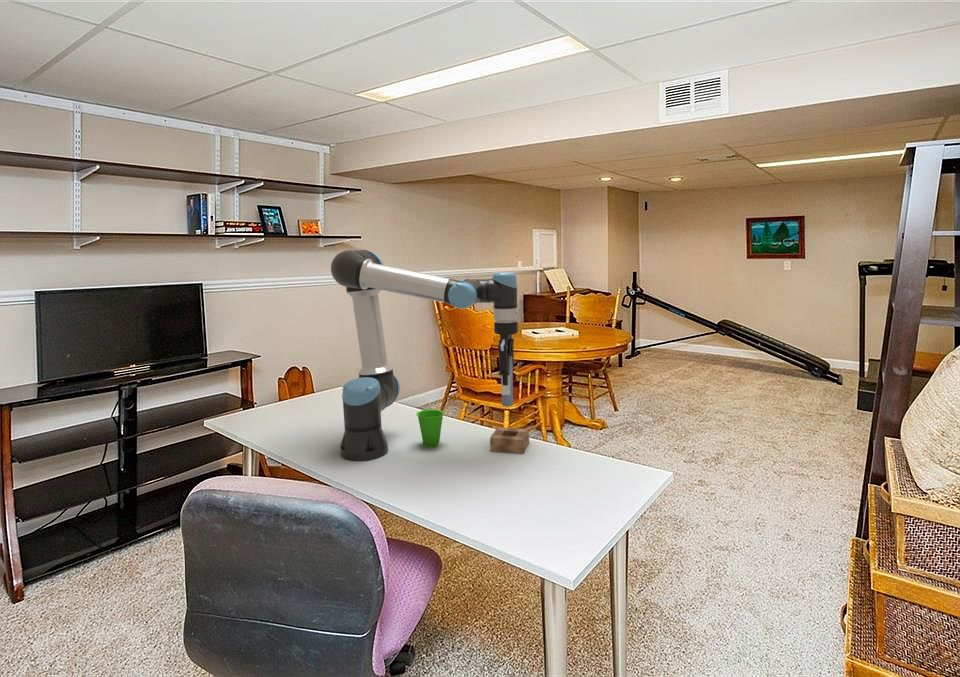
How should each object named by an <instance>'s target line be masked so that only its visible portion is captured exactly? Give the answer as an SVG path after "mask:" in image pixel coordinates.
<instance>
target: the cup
mask: <svg viewBox="0 0 960 677" xmlns="http://www.w3.org/2000/svg"><path fill="white" fill-rule="evenodd" d="M444 415H445V413H444V411H443V410H440V409H435V408H434V409H423V410H420V411H418V412H417V413H416V416H417V418H418V423H419V429H420V433H421V439H422V443H423V446H424V447H425V448H436V447H438V446H439V445H438V444H440V441H441V440H440V439H441V434H442V433H441V432H442V425H443V417H444Z"/></svg>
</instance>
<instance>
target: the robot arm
mask: <svg viewBox="0 0 960 677" xmlns="http://www.w3.org/2000/svg"><path fill="white" fill-rule="evenodd" d="M330 264H331V265H330V273H331V276H332V278H333V279H334V281H335V282H336V283H337V284H338V285H341V286H342V287H345V289H346V290H345V291H346V294H347V295H348V296H350V297H351V298H352V306H353V312H354V313H353V314H354V320H355V327H356V334H357V341H358V348H359V353H360V361H361V368H360V370H359V371H358V377H357V378H354V379H350V380H348V381H347V382H345V384H344V385H343V387H342V394H341V398H342V408H343V410H342V411H343V424H344V426H343V427H344V432H343V435H342V439H341V443H340V447H339V454H340V457H342V458H343V459H344V460H349V461H369V460H374V459H378V458H381V457H384V456H385V455H386V454H387V453H388V451H389V443H388V441H387V439H386V435H385V434H384V430H383V428H382V411H383V410H385V409H386V408H388V407H390V406H391V405H393V403H395V401H396V400H397V399H398V397H399V395H400V392H401V384H400V381H399V380H398V378H397V376H396V375H395V374H394V370H393V366H392V365H390V364H389V363H388V358H387V356H388V355H387V351H386V343H385V335H384V329H383V323H382V322H383V321H382V315H381V307H380V300H379V293H380V292H381V291H385V292H388V293H389V292H390V293H395V294H399V295H405V296H409V297H414V298H420V299H424V300H429V301H434V302H439V303H443V304H447V305H451V306H453V307H454V308H457V309H467V308H471V307H472V306H473V305H475V304H481V303H482V304H483V303H484V304H487V303H489V304H491V303H493V320H494V321H495V322H494V323H493V332H494V334H495V335H499V336H500V339H499V340H498V345H497V347H498V363H499V364H498V366H499V373H498V376H500V378H501V379H500V380H501V381H500V382H501V383H500V385H501V396H502V395H510V375H509V356H512V370H513V372H515V371H516V369H515V366H514V363H515V362H514V361H515V360H514V358H515V357H514V342H515V339H514V337H513V336H512V335H516V334H518V332H519V324H518V323H519V322H518V321H517V320H518V315H519V314H520V311H519V310H518V282H517V275H516V273H515V272H511V271H507V272H506V271H504V272H493V274H492V278H487V279H486V278H485V279H484V278H483V279H481V278H480V279H478V278H477V279H476V278H474V279H473V278H472V279H471V278H464V279H459V280H458V279H453V278H448V277H444V276H438V275H433V274H428V273H423V272H419V271H414V270H410V269H404V268H399V267H395V266H390V265H389V266H388V265H384V262H383V260H382V259H381V257H380V255H378V254H376V253H375V252H374V251H372V250H368V249H352V250H349V249H348V250H343V251H340V252H339V253H338V254H336V255H335V256H334V257H333V259H332V261H331V263H330Z"/></svg>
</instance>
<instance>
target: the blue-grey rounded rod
mask: <svg viewBox="0 0 960 677" xmlns="http://www.w3.org/2000/svg"><path fill="white" fill-rule="evenodd" d="M513 373H514V371H513V370H512V356H509V375H510V395H502V394H501V405H502V407H512V406H514V381H513V380H514V379H513V378H514V377H513Z"/></svg>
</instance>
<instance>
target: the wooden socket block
mask: <svg viewBox="0 0 960 677" xmlns="http://www.w3.org/2000/svg"><path fill="white" fill-rule="evenodd" d="M489 442H490V444H489V445H490V446H489V449H490V450H489V451H490V452H494V453H495V452H497V453H507V454H510V453H511V454H522V455H523V454H524V453H525V451H526V450H527V447H528V445H529V443H530V429H527V428H517V427H516V428H515V427H502V426H498V427H496V429H495V430H494V432H493V433H492V434H491V436H490V437H489Z"/></svg>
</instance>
